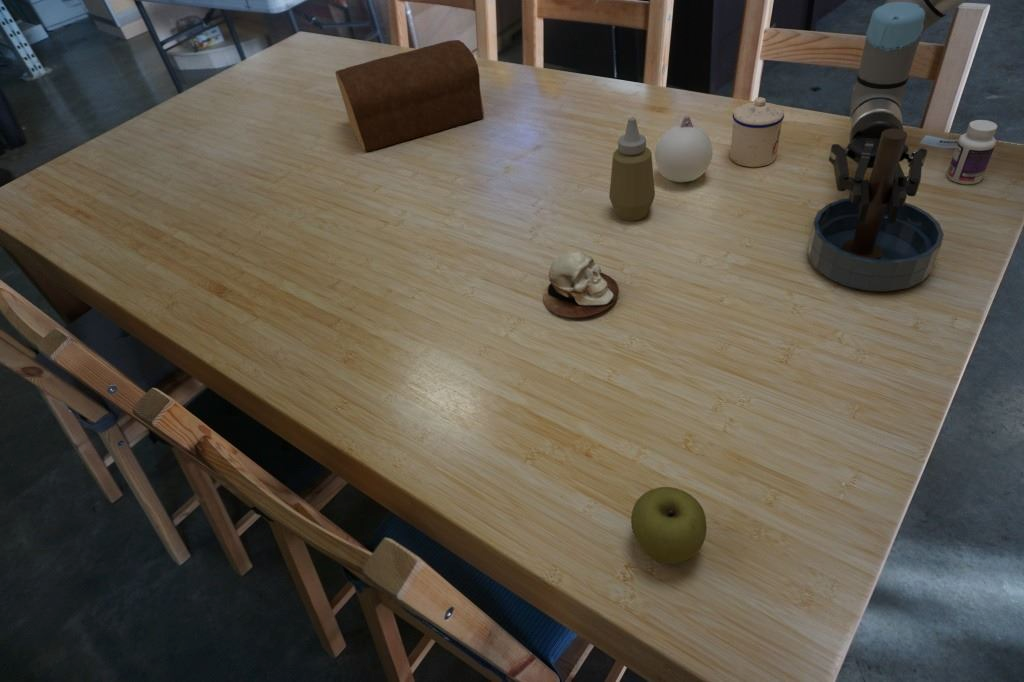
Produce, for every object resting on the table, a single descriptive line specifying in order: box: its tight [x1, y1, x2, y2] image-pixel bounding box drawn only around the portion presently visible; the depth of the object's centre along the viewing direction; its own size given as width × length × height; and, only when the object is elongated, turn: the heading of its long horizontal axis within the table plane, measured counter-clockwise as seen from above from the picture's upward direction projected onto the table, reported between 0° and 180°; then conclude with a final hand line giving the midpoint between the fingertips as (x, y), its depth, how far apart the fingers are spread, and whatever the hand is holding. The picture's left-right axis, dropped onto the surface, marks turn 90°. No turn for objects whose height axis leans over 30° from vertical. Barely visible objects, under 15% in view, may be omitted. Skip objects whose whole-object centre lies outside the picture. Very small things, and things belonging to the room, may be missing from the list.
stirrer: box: [841, 129, 908, 260], centre depth 96 cm, size 6×6×20 cm
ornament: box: [654, 115, 713, 183], centre depth 125 cm, size 10×10×12 cm
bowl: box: [807, 197, 945, 292], centre depth 103 cm, size 17×17×6 cm
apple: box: [630, 486, 707, 564], centre depth 72 cm, size 8×8×7 cm
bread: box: [335, 39, 485, 153], centre depth 156 cm, size 18×30×16 cm, turn 112°
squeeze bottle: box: [608, 117, 656, 222], centre depth 116 cm, size 8×8×18 cm
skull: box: [542, 250, 620, 318], centre depth 106 cm, size 12×10×10 cm
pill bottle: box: [946, 119, 998, 185], centre depth 114 cm, size 5×5×10 cm
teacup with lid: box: [729, 96, 785, 168], centre depth 128 cm, size 12×9×12 cm
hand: (878, 213), depth 92 cm, fingers closed on stirrer, 3 cm apart
